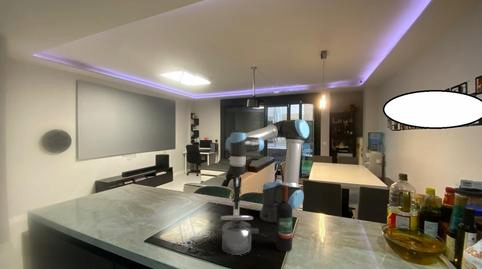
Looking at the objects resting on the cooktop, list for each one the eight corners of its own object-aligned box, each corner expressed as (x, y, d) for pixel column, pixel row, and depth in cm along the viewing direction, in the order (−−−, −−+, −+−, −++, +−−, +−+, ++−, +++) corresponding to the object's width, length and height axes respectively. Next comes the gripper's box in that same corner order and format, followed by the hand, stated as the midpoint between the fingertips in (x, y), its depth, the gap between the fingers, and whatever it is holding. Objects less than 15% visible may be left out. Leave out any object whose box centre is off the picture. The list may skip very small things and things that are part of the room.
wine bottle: (289, 243, 106) (290, 183, 106) (293, 251, 98) (294, 187, 98) (274, 243, 105) (275, 183, 105) (277, 251, 98) (278, 187, 98)
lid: (221, 220, 109) (222, 216, 110) (251, 220, 110) (251, 216, 111) (219, 217, 95) (219, 213, 95) (254, 217, 95) (254, 213, 96)
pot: (216, 239, 108) (216, 220, 108) (257, 240, 109) (257, 220, 109) (212, 255, 94) (213, 233, 94) (260, 255, 95) (260, 233, 95)
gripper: (230, 163, 106) (228, 210, 105) (229, 166, 93) (227, 220, 92) (244, 163, 106) (243, 210, 106) (246, 167, 93) (244, 220, 93)
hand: (236, 215), depth 99 cm, fingers closed
